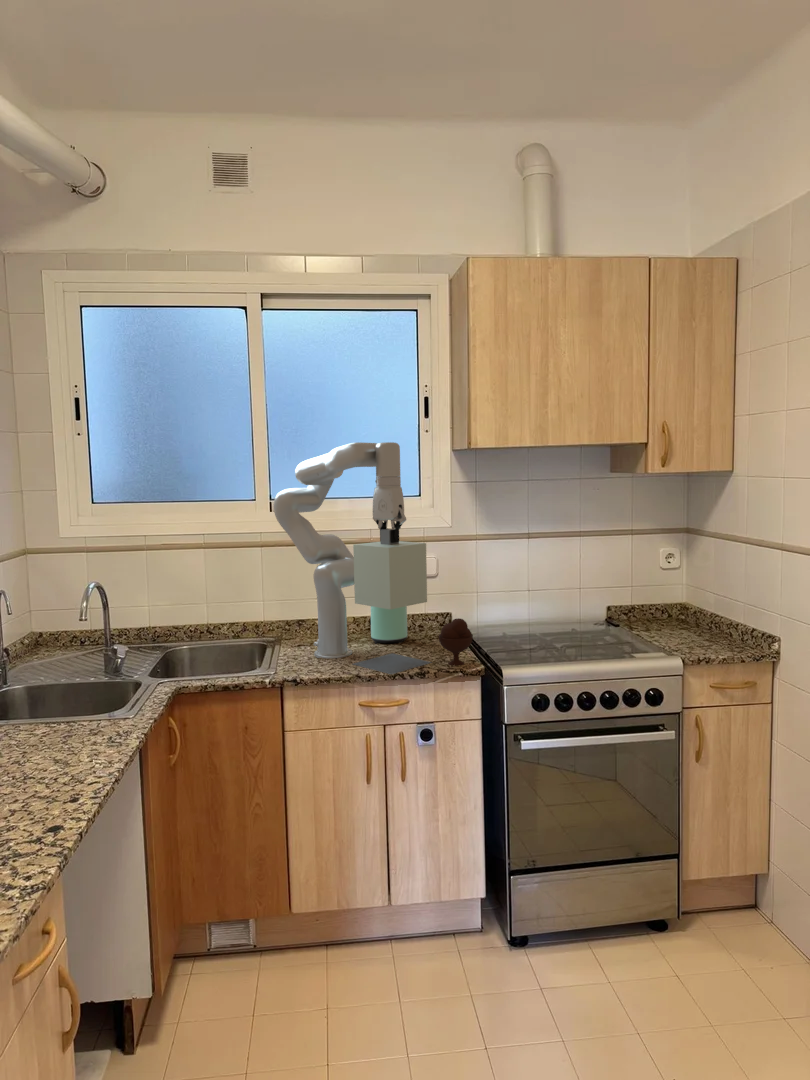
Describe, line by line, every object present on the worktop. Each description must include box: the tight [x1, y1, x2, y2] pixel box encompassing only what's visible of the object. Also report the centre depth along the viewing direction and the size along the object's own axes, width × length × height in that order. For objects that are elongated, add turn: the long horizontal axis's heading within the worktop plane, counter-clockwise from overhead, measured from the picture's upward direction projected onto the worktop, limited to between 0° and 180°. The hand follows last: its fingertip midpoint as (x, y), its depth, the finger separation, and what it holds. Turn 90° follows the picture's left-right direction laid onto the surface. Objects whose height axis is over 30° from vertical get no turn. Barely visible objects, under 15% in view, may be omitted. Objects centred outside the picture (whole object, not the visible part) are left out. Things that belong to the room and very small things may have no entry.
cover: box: [352, 528, 428, 609], centre depth 229 cm, size 16×16×23 cm
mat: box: [352, 653, 433, 675], centre depth 232 cm, size 18×18×1 cm
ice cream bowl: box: [438, 618, 474, 667], centre depth 230 cm, size 11×11×15 cm
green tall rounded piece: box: [370, 606, 408, 645], centre depth 261 cm, size 19×13×35 cm
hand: (389, 541), depth 228 cm, fingers closed on cover, 4 cm apart
